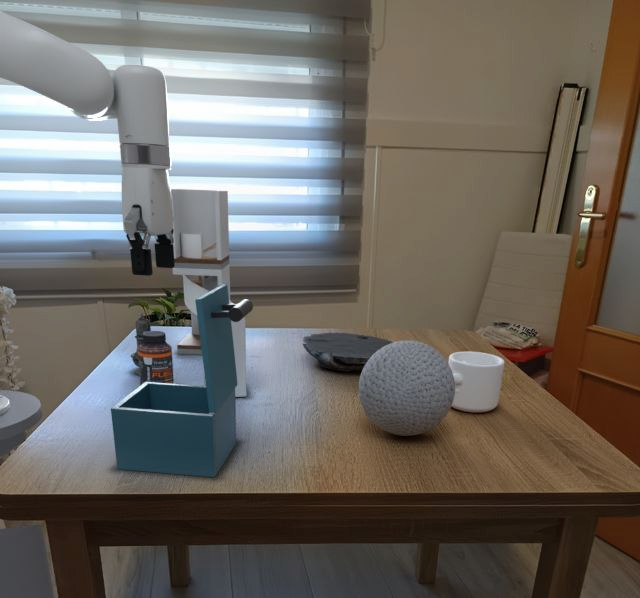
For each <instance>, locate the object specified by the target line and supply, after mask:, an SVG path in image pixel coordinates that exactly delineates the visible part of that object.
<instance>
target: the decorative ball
mask: <svg viewBox="0 0 640 598" xmlns="http://www.w3.org/2000/svg"><path fill="white" fill-rule="evenodd" d="M448 362H449V361H447V359H446V358H445V357H444V355H442V354H441V352H439V351H438V350H436V349H435V348H434V347H432V346H431V345H428V344H426V343H424V342H421V341H417V340H408V339H407V340H405V339H404V340H398V341H394V343H391V344H388V345H386V346H384V347H382V348H381V349H379V350H378V351H377V352H375V353H374V354H373V355H372V356H371V357H370V359H369V360H368V361H367V363H366V364H365V366H364V368H363V370H361V373H360V375H359V380H358V397H359V401H360V404H361V407H362V409H363V411H364V413H365V415H366V416H367V418H368V419H369V420H370V421H371V422H372V423H373V424H374V425H375V426H376V427H378V428H379V429H381V430H383V431H384V432H387V433H389V434H392V435H395V436H403V437H409V436H410V437H411V436H417V435H421V434H424V433H426V432H428V431H430V430H432V429H435V427H436V426H438V425H439V424H440V423H441V422H442V421H443V420H444V419H445V417H446V416H447V415H448V414H449V411H450V410H451V408H452V407H451V406H452V403H453V399H454V395H455V381H454V376H453V373H452V370H451V368H450V366H449V364H448Z"/></svg>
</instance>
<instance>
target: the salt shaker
mask: <svg viewBox="0 0 640 598" xmlns="http://www.w3.org/2000/svg"><path fill="white" fill-rule="evenodd" d="M147 331H152V327H151V321H150V320H149V319H147V318H145V315H144V313H141V314H140V318H138V319H136V321H135V333H136V335H134V339H136V351H135V352H133V353H131V354H130V358H131V359H132V362H133V364H134V365H135V366H136V367H137V368H135V369H134V370H133V374H134V375H136V376H140V371H139V357H138V348H139V346H140V345H141V344H142V343H143V335H142V334H143V333H144V332H147Z"/></svg>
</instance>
